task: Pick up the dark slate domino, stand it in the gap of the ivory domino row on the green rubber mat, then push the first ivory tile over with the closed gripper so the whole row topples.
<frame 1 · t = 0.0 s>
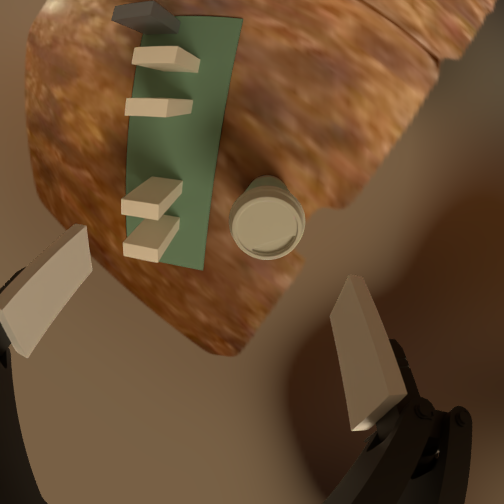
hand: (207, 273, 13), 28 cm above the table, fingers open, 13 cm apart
domino 4: (166, 184, 39), resting on mat
mat: (170, 145, 36), on the table
domino 2: (175, 105, 33), resting on mat
domino 5: (164, 220, 42), resting on mat
domino 1: (181, 65, 30), resting on mat
coffee cup: (267, 193, 40), on the table
slate domino: (162, 28, 27), resting on mat
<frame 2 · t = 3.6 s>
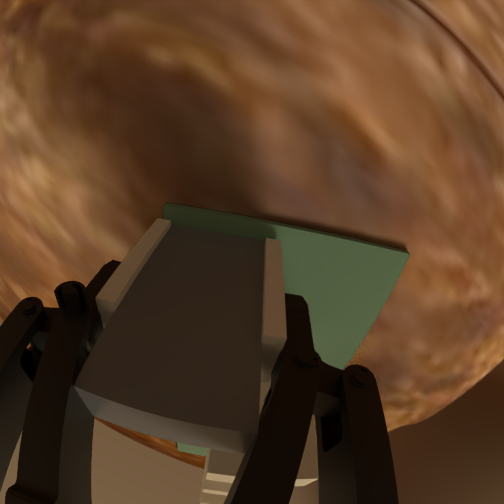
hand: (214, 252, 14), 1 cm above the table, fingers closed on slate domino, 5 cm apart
domino 4: (232, 431, 27), resting on mat
mat: (240, 408, 24), on the table
domino 2: (250, 382, 21), resting on mat
domino 1: (265, 336, 18), resting on mat
slate domino: (215, 248, 15), resting on mat, touching gripper
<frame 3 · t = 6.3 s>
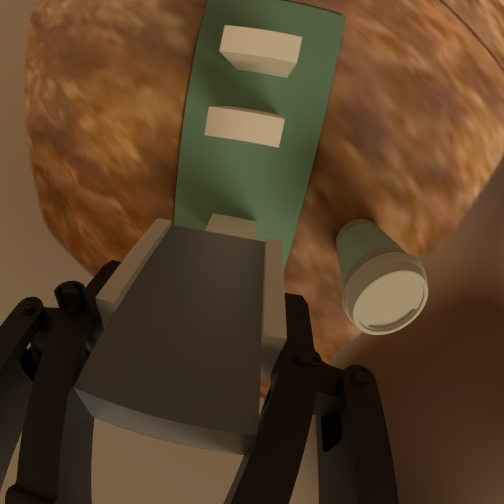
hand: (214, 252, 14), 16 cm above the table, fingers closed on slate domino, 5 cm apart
domino 4: (233, 225, 31), resting on mat
mat: (242, 173, 29), on the table
domino 2: (252, 119, 25), resting on mat
domino 1: (263, 64, 22), resting on mat
coffee cup: (357, 239, 32), on the table
slate domino: (215, 249, 15), point 16 cm above the table, touching gripper
when the fingers open (2 cm above the table, at t = 9.2 s): slate domino drops 1 cm, resting on mat.
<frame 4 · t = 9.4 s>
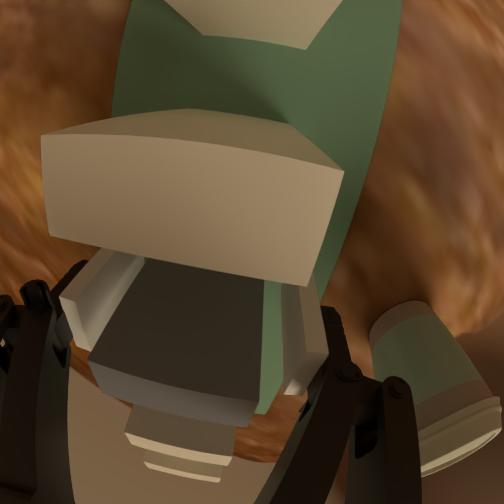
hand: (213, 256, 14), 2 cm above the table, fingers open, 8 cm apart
domino 4: (209, 315, 19), resting on mat
mat: (219, 236, 16), on the table
domino 2: (235, 133, 13), resting on mat
domino 5: (204, 364, 22), resting on mat
domino 1: (257, 23, 10), resting on mat
coffee cup: (400, 325, 19), on the table
slate domino: (218, 240, 16), resting on mat
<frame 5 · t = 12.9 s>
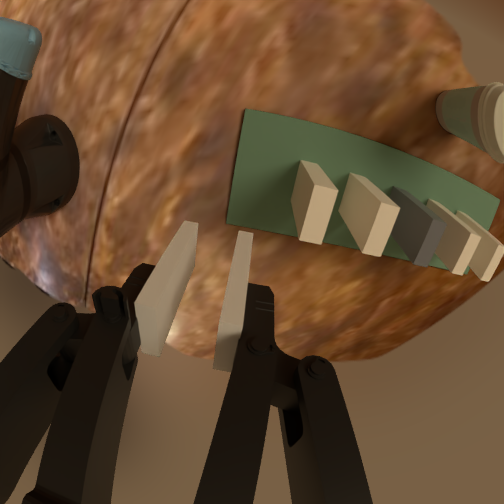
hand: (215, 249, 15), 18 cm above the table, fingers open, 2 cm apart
domino 4: (427, 217, 31), resting on mat
mat: (391, 204, 31), on the table
domino 2: (351, 194, 31), resting on mat
domino 5: (455, 227, 32), resting on mat
domino 1: (304, 182, 31), resting on mat
coffee cup: (451, 111, 24), on the table
slate domino: (393, 206, 31), resting on mat
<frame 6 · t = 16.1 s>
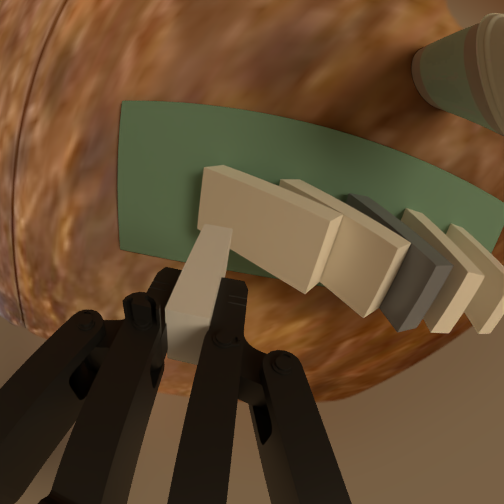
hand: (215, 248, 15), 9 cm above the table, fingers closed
domino 4: (404, 234, 22), resting on mat
mat: (346, 218, 23), on the table
domino 2: (283, 209, 21), point 1 cm above the table, tilted 37°, touching mat
domino 5: (447, 247, 23), resting on mat
domino 1: (209, 196, 21), point 1 cm above the table, tilted 53°, touching mat
coffee cup: (437, 77, 15), on the table
slate domino: (349, 222, 22), point 1 cm above the table, tilted 16°, touching mat
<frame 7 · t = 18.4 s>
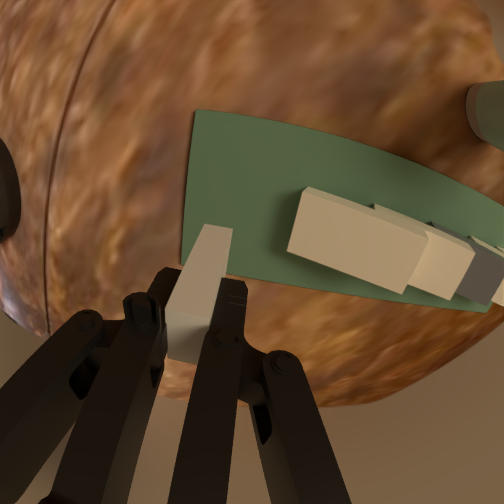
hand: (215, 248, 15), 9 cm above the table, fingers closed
domino 4: (463, 259, 22), point 1 cm above the table, tilted 70°, touching domino 5, mat, slate domino
mat: (404, 238, 23), on the table
domino 2: (364, 233, 22), point 1 cm above the table, tilted 71°, touching domino 1, mat, slate domino
domino 1: (297, 218, 21), point 1 cm above the table, tilted 70°, touching domino 2, mat
coffee cup: (483, 111, 16), on the table
slate domino: (423, 248, 22), point 1 cm above the table, tilted 71°, touching domino 2, domino 4, mat
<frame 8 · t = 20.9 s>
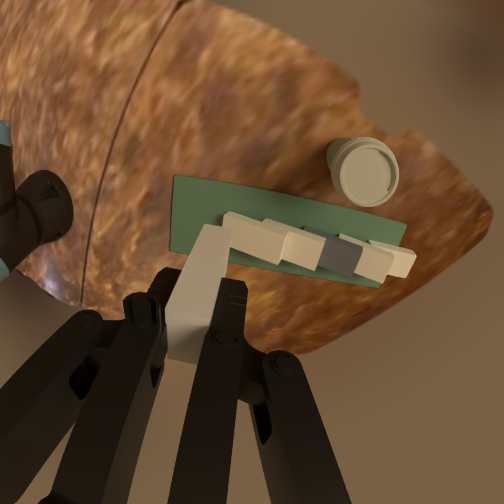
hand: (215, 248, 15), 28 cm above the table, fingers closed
domino 4: (334, 248, 45), point 1 cm above the table, tilted 70°, touching domino 5, mat, slate domino
mat: (290, 235, 46), on the table
domino 2: (261, 233, 44), point 1 cm above the table, tilted 71°, touching domino 1, mat, slate domino
domino 5: (365, 254, 45), point 1 cm above the table, tilted 90°, touching domino 4, mat
domino 1: (224, 227, 44), point 1 cm above the table, tilted 70°, touching domino 2, mat
coffee cup: (343, 156, 38), on the table
slate domino: (300, 241, 45), point 1 cm above the table, tilted 71°, touching domino 2, domino 4, mat
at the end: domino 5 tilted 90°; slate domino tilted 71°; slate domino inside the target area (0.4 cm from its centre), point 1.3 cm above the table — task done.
